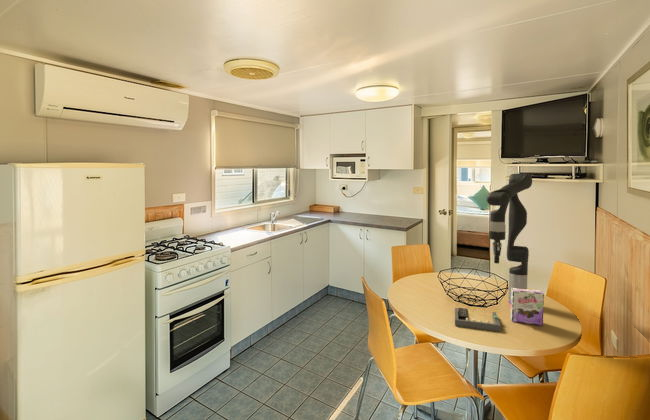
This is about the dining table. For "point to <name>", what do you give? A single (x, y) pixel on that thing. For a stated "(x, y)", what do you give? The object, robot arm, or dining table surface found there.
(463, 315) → the multiport hub
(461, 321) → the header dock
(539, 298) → the candy box
